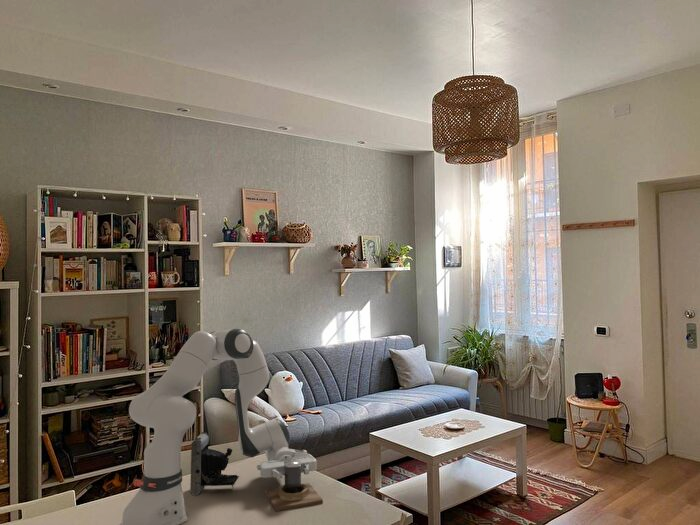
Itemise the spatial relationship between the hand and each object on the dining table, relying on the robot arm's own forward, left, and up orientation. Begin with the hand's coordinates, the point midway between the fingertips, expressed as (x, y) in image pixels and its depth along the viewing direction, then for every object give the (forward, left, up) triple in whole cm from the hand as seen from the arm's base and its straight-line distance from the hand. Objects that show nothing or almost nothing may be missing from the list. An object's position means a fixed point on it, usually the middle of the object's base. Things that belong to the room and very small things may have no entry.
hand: (293, 474), depth 184 cm
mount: (+1, +1, -8) cm, 9 cm away
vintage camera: (-3, +31, -9) cm, 32 cm away
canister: (+1, +1, -7) cm, 7 cm away
